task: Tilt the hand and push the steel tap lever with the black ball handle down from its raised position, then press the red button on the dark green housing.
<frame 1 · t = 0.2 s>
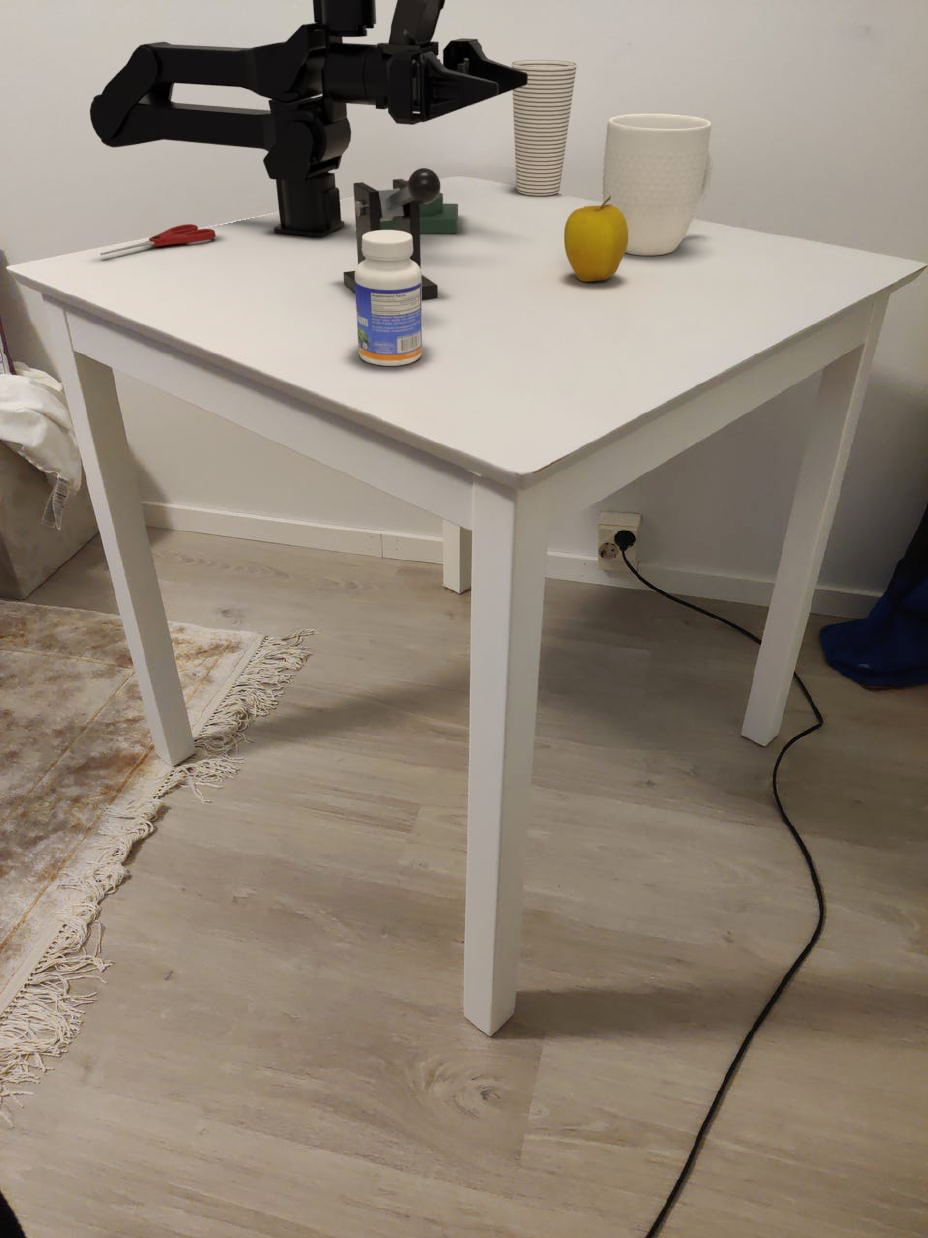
hand: (513, 83, 98), 17 cm above the table, tool horizontal, fingers open, 9 cm apart
button: (415, 190, 115), point 4 cm above the table, slide at 0.1 cm
lever: (404, 196, 86), point 10 cm above the table, hinge at 20.0°
cup: (537, 192, 133), on the table
bracket: (390, 290, 95), on the table
mug: (651, 248, 109), on the table
scissors: (155, 247, 108), on the table
apple: (592, 281, 99), on the table
pill bottle: (391, 358, 81), on the table
button box: (416, 225, 117), on the table
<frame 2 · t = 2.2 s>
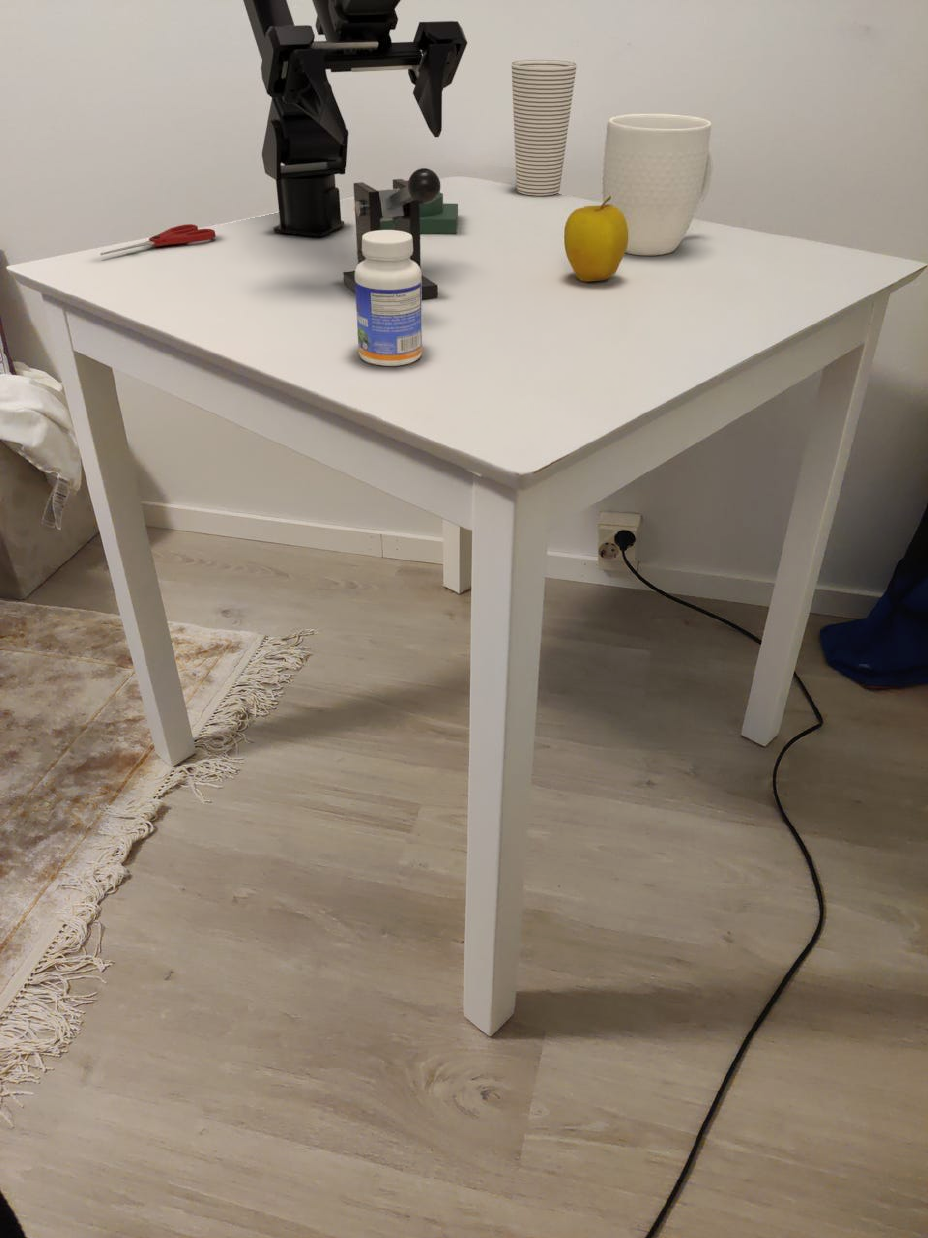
hand: (392, 137, 87), 14 cm above the table, tool tilted 45°, fingers open, 9 cm apart
nothing on the table moved.
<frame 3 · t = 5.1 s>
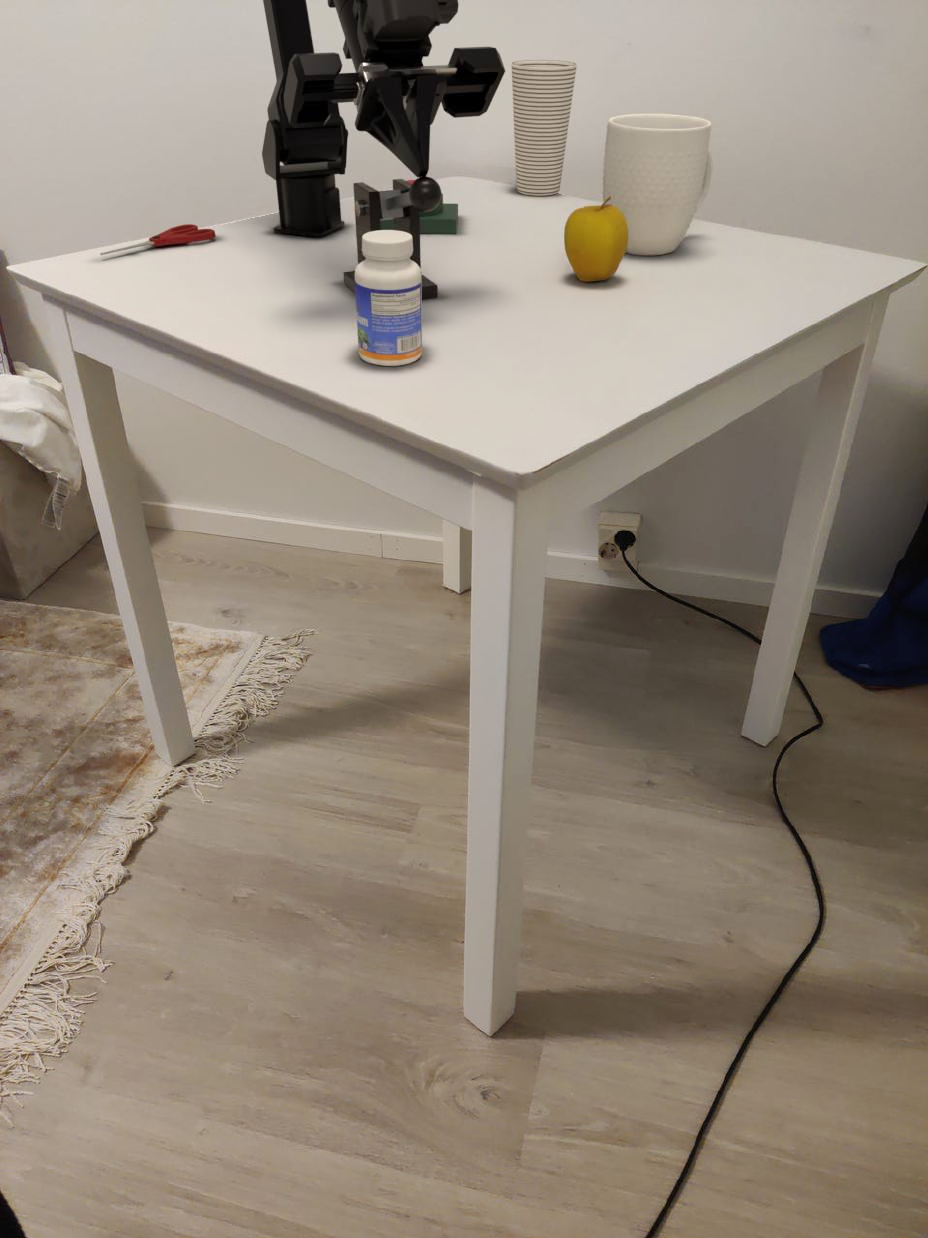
hand: (423, 173, 81), 12 cm above the table, tool tilted 45°, fingers closed
lever: (405, 199, 86), point 9 cm above the table, hinge at 16.2°, touching gripper
everything else where it was.
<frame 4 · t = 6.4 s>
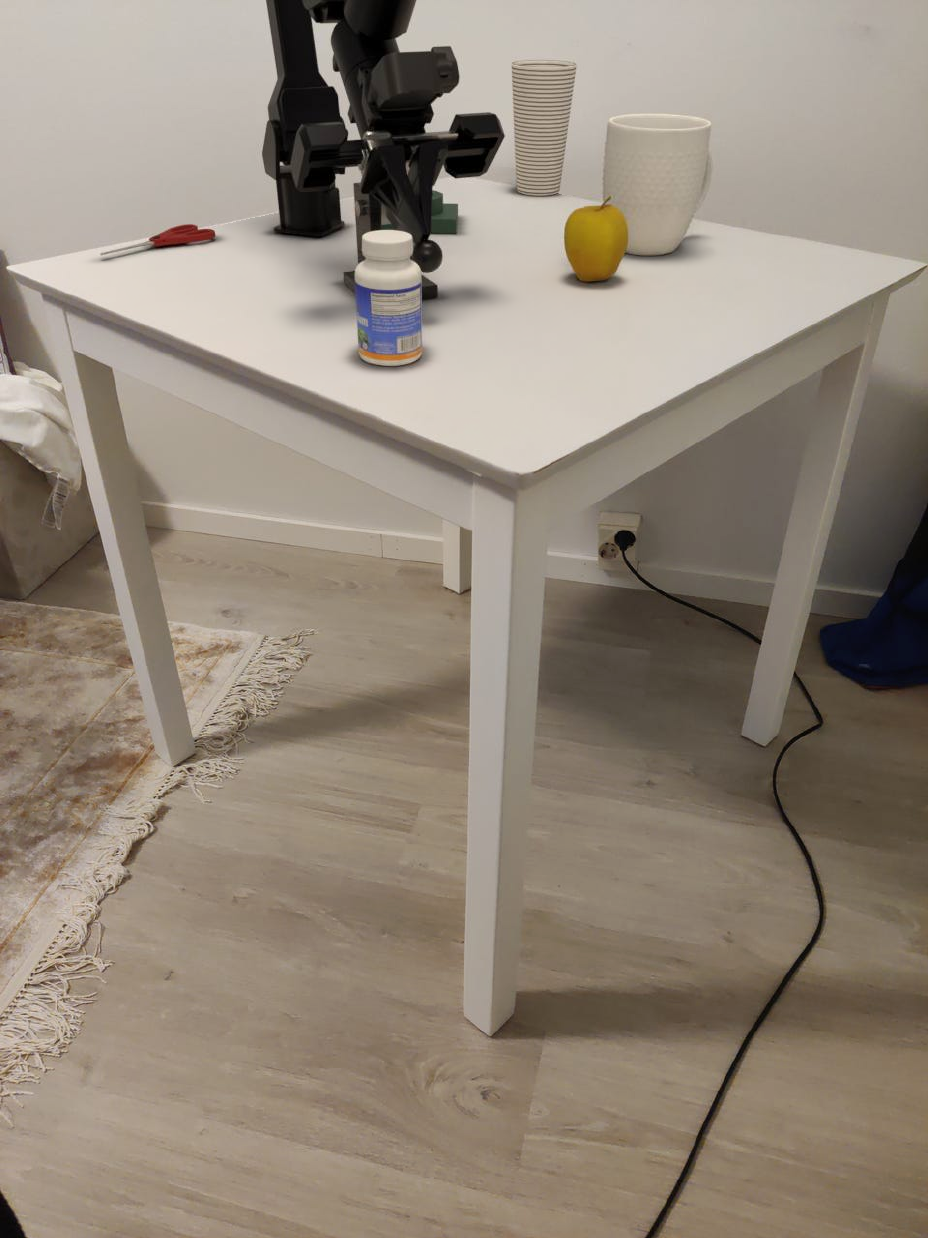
hand: (425, 236, 84), 7 cm above the table, tool tilted 45°, fingers closed, pressing on lever
lever: (406, 229, 88), point 7 cm above the table, hinge at -13.4°, touching gripper
everything else where it was.
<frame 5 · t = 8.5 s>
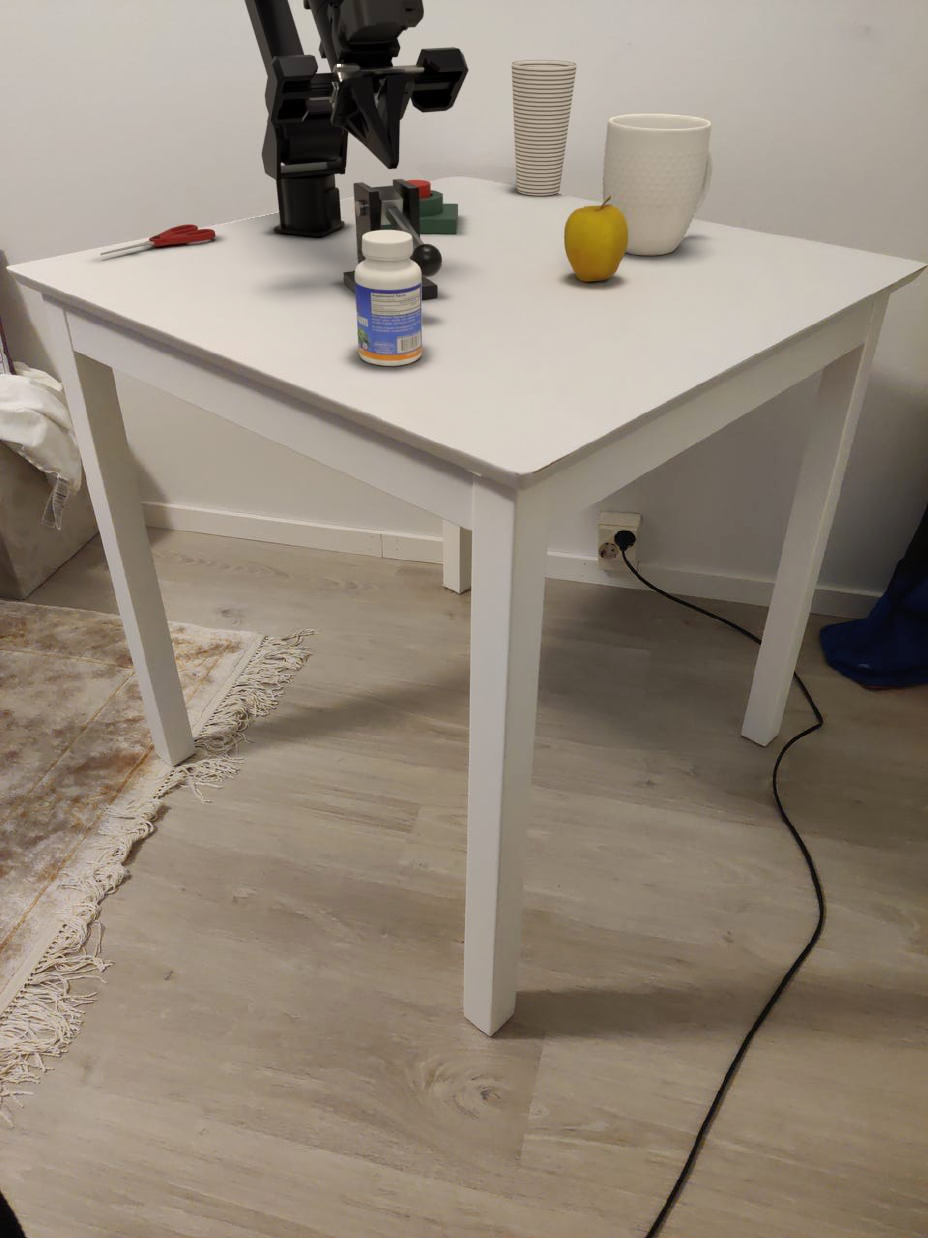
hand: (394, 166, 88), 11 cm above the table, tool tilted 45°, fingers closed
lever: (405, 231, 88), point 7 cm above the table, hinge at -15.8°
everything else where it was.
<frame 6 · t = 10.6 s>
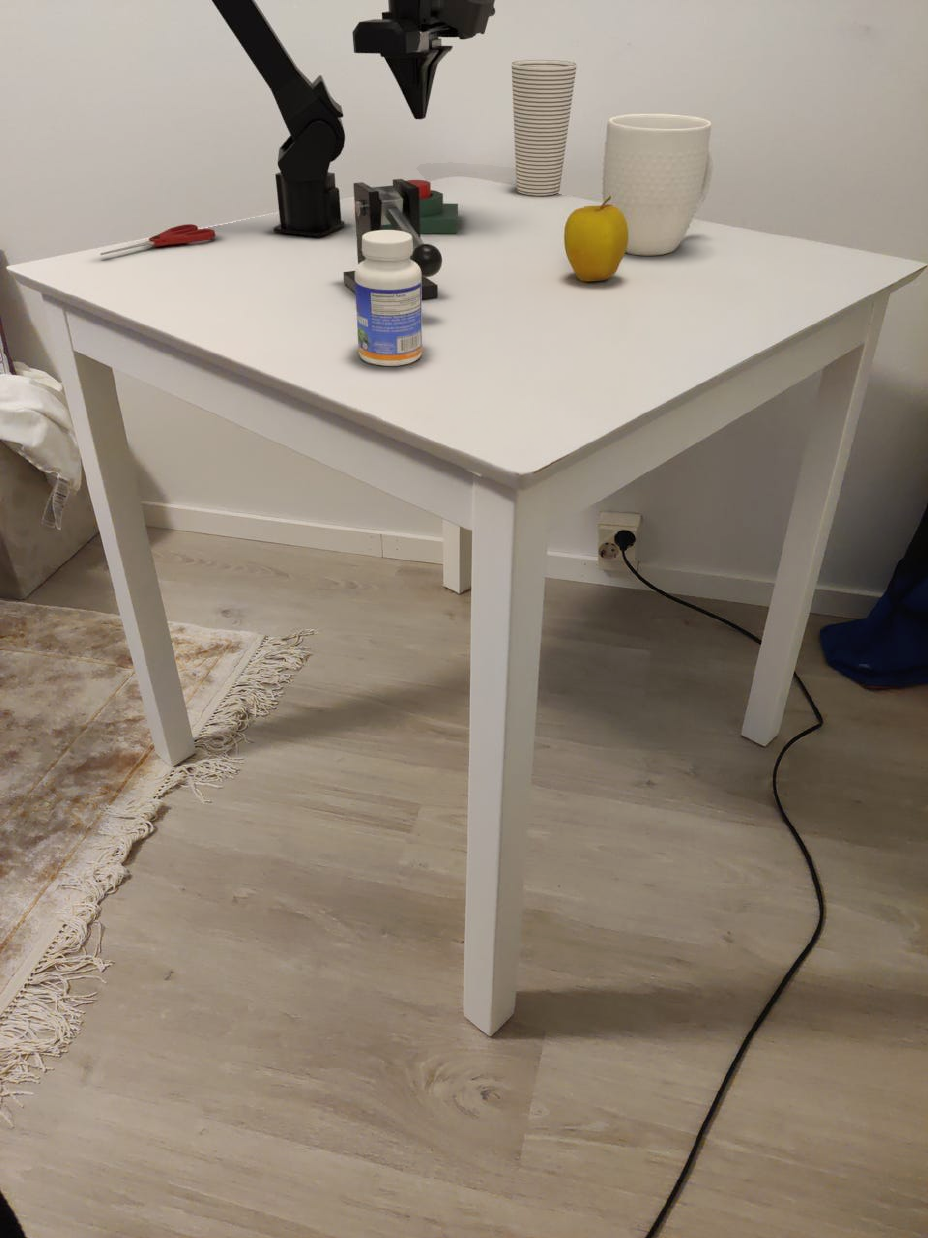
hand: (420, 118, 110), 12 cm above the table, tool pointing down, fingers closed
nothing on the table moved.
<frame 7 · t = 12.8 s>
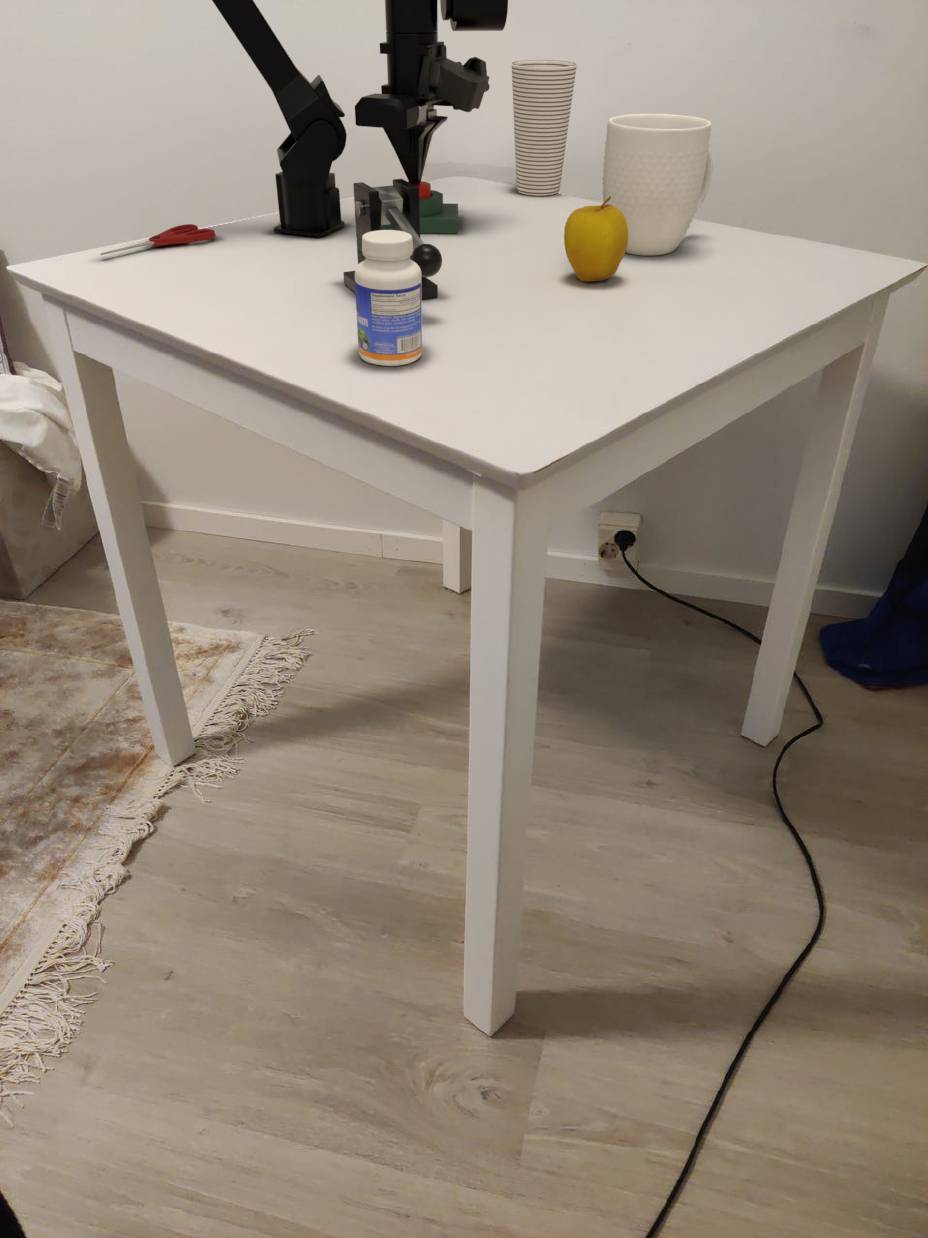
hand: (415, 183, 114), 5 cm above the table, tool pointing down, fingers closed, pressing on button
button: (415, 191, 115), point 4 cm above the table, slide at -0.1 cm, touching gripper
everything else where it was.
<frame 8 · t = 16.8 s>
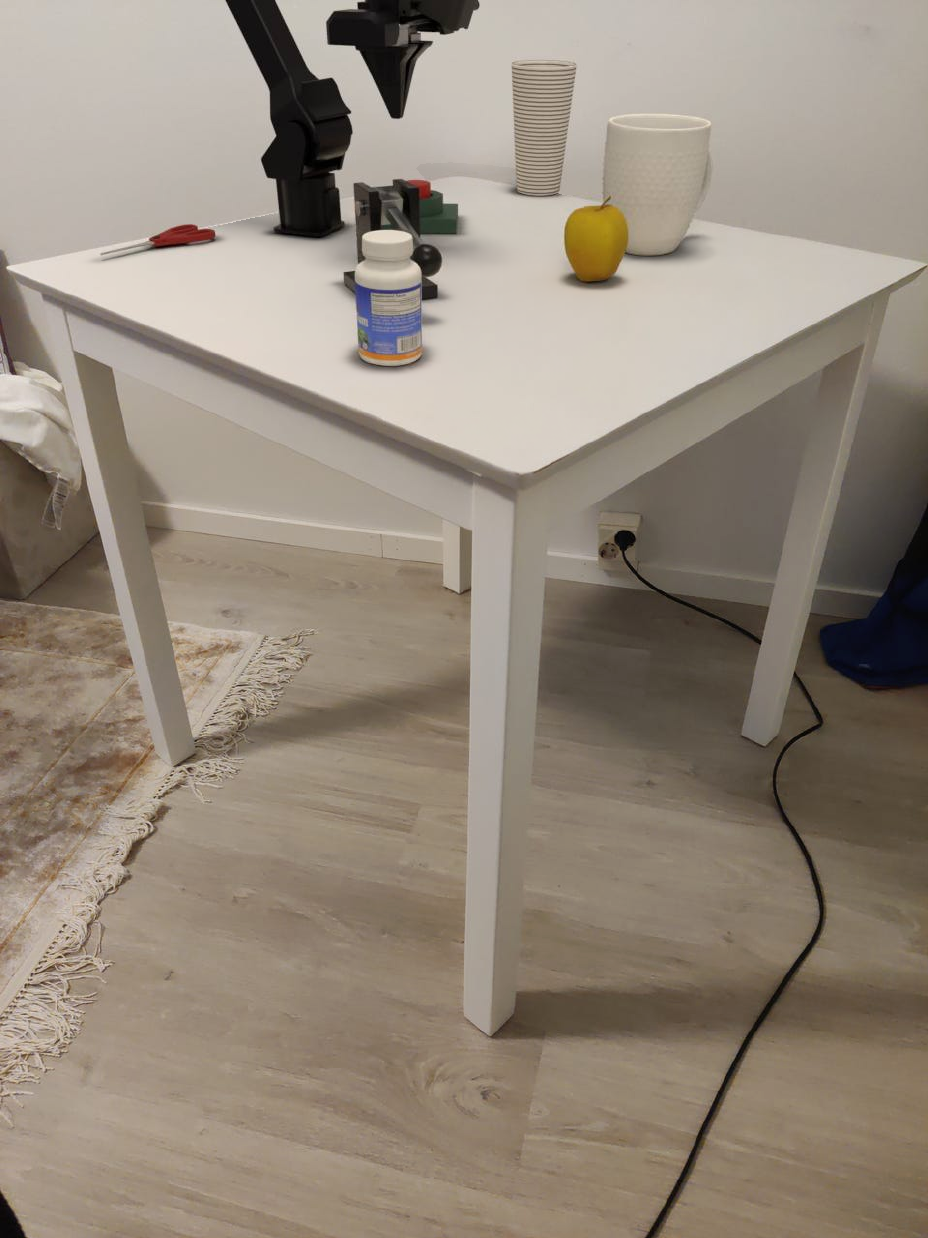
hand: (397, 118, 102), 13 cm above the table, tool pointing down, fingers closed
button: (415, 190, 115), point 4 cm above the table, slide at 0.1 cm
everything else where it was.
at the end: lever at -16° (first picture: +20°); button pushed in 1.3 cm at the most during the clip, back to where it started at the end; button slide at 0.1 cm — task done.
